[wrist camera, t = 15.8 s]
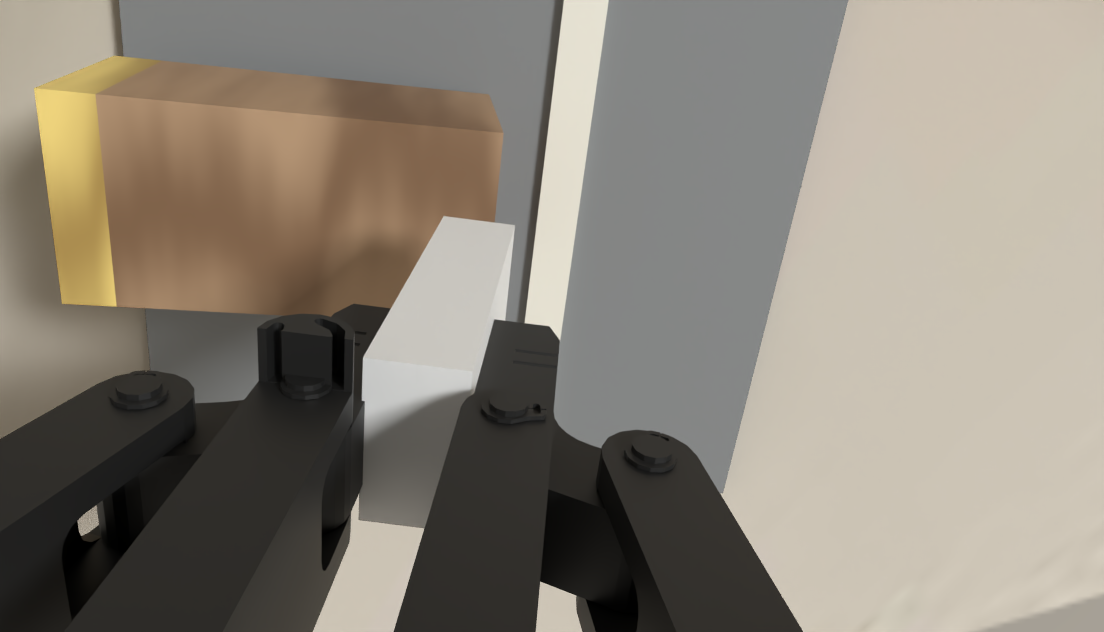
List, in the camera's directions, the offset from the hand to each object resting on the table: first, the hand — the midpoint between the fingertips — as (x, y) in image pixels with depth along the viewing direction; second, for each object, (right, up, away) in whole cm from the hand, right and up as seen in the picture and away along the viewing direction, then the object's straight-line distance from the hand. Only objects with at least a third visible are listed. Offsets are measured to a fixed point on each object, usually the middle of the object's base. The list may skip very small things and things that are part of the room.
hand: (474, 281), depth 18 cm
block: (0, +2, +5) cm, 5 cm away
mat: (-1, +4, +8) cm, 9 cm away
